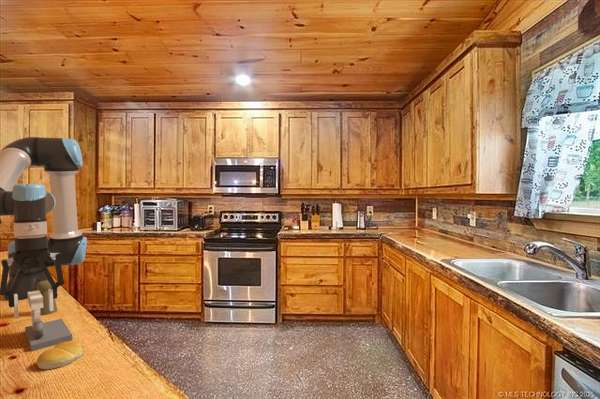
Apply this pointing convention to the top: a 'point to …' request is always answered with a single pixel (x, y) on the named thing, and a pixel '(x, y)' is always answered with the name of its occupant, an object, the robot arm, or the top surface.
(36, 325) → the gate
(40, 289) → the olive mushroom
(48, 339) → the board
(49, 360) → the bread roll
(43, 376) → the top surface
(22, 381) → the top surface
